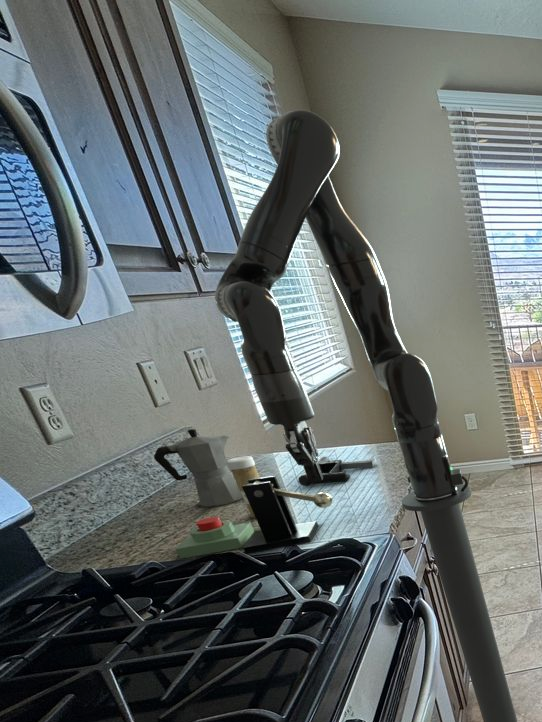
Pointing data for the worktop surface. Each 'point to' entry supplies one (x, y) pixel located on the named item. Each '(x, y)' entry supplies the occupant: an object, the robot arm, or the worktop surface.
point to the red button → (209, 524)
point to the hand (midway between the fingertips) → (317, 481)
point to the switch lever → (306, 497)
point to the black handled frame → (334, 470)
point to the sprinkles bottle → (243, 474)
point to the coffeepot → (203, 467)
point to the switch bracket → (273, 518)
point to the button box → (215, 539)
